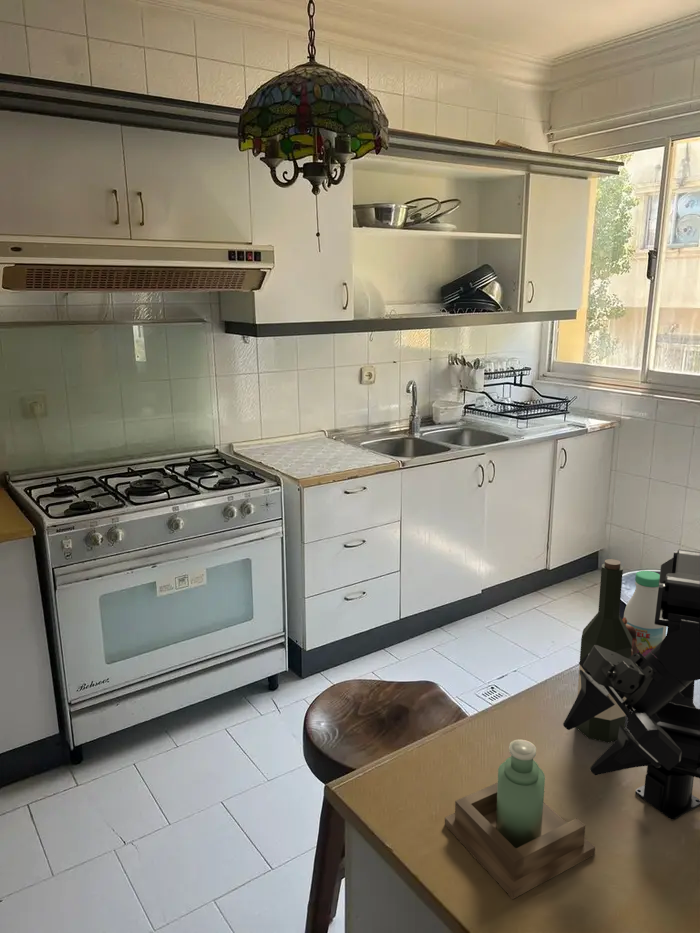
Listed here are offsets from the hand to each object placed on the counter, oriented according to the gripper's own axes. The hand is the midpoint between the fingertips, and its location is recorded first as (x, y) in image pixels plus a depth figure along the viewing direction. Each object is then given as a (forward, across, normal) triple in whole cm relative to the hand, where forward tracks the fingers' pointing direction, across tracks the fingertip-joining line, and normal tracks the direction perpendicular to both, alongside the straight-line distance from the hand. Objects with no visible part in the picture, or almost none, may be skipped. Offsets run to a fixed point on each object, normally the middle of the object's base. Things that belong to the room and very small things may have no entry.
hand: (578, 748), depth 90 cm
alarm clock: (-5, -32, +24) cm, 40 cm away
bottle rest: (+15, 0, +4) cm, 16 cm away
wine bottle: (0, -23, +19) cm, 30 cm away
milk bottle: (-11, -40, +30) cm, 51 cm away
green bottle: (+14, 0, +4) cm, 14 cm away
